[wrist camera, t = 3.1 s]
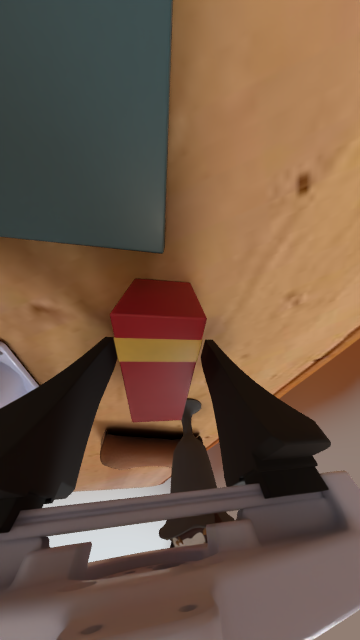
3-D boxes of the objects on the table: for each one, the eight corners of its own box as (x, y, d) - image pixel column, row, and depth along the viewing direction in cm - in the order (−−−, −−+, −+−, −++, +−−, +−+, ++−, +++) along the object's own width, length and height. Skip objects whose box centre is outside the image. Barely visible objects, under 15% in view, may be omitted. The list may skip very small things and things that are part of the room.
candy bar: (178, 368, 15) (182, 420, 11) (141, 369, 15) (131, 423, 10) (190, 282, 10) (208, 318, 6) (134, 278, 9) (107, 313, 5)
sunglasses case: (98, 448, 25) (84, 495, 19) (110, 411, 25) (100, 446, 19) (184, 450, 30) (196, 487, 24) (194, 420, 30) (208, 449, 24)
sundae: (215, 402, 20) (296, 678, 8) (187, 420, 23) (212, 649, 10) (182, 390, 18) (221, 777, 5) (154, 411, 20) (134, 704, 8)
